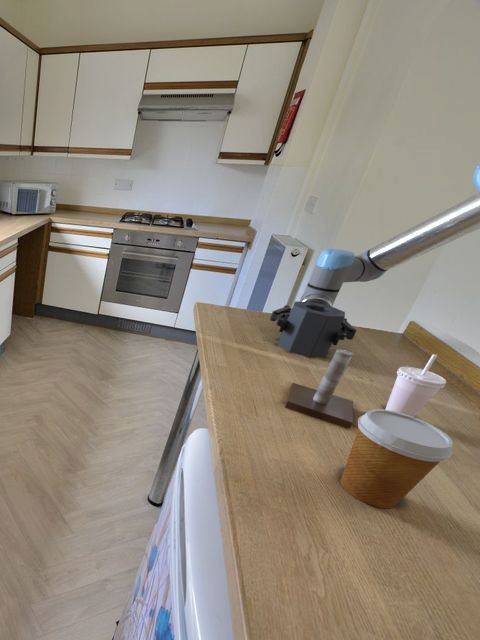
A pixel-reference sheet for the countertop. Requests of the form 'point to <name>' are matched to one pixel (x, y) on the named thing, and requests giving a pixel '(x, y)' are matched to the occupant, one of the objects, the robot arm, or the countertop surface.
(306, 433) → the countertop surface
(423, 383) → the smoothie
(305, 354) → the grey hollow prism
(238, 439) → the countertop surface
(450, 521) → the countertop surface
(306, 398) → the towel holder
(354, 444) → the disposable coffee cup
